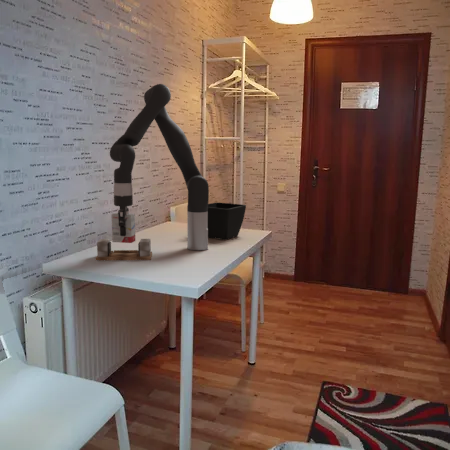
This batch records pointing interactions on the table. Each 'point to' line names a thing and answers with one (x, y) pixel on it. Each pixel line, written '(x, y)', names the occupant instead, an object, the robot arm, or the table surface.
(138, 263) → the table surface
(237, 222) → the flower pot
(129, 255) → the rail
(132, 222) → the ink box
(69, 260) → the table surface
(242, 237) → the table surface
